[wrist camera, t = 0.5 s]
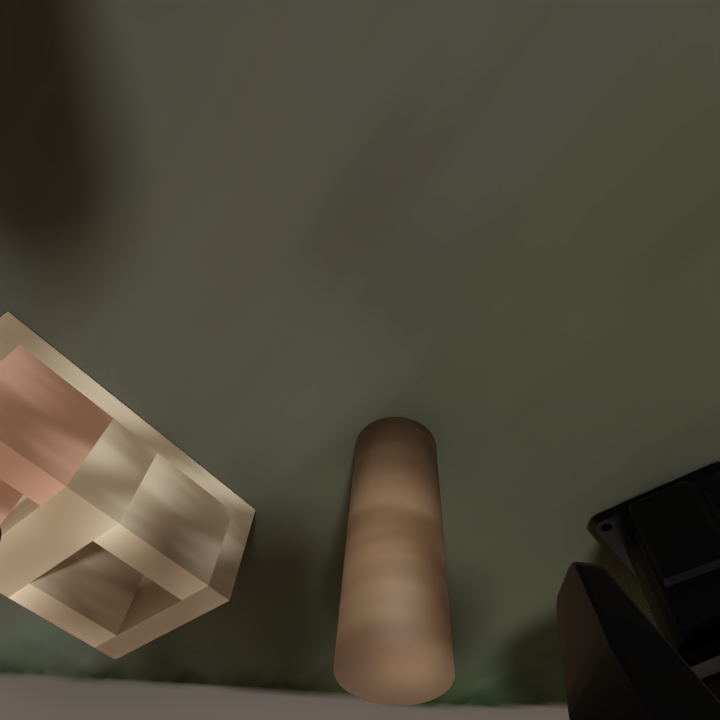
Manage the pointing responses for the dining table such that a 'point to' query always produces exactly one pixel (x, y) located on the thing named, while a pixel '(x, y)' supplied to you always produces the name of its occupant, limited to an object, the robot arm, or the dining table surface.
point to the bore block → (103, 508)
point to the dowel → (395, 571)
